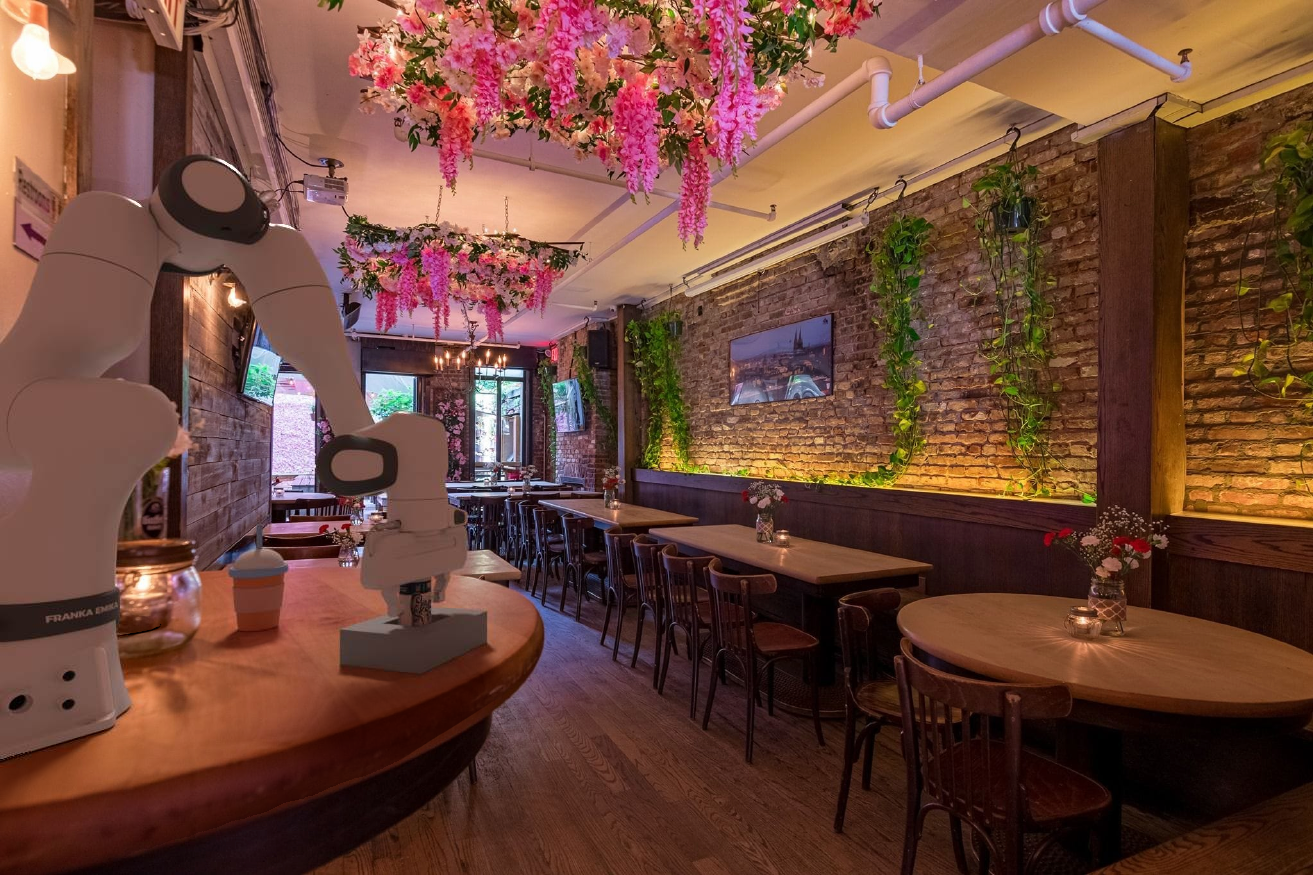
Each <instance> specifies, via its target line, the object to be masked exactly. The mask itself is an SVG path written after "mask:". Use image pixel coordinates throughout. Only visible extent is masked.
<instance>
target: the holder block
mask: <svg viewBox="0 0 1313 875" xmlns="http://www.w3.org/2000/svg"><path fill="white" fill-rule="evenodd" d="M486 642H487V643H488V610H479V609H469V608H467V609H466V608H456V607H455V608H454V607H444V606H432V605H431V624H428V625H426V626H423V627H414V626H403V625H398V617H389V616H388V613H387V614H384V615H381V616H376V617H374V618H371V619H367V620H364V621H361V622H358V623H355V624H352V625H349V626H346V627H343V628H340V629H339V665H341V666H342V665H344V666H351V667H358V668H367V669H375V670H382V671H390V672H399V673H407V674H413V675H414V674H415V675H421V674H424V673H426V672H428V671H430V670H433V669H435V668H437V667H439V666H441V665H443V664H446V663H448V662H449V661H451V660H453V658H454V659H455V658H457V657H460V656H462V655H464V654H466V653H468V652H470V651H472V650H475V649H476V648H475V647H477V648H479V647H481V646H482V644H483V645H485V644H487V643H486ZM484 643H485V644H484ZM480 645H481V646H480ZM478 646H479V647H478ZM474 648H475V649H474ZM471 649H472V650H471Z"/></svg>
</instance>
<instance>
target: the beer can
mask: <svg viewBox="0 0 1313 875" xmlns="http://www.w3.org/2000/svg"><path fill="white" fill-rule="evenodd" d="M431 591H432V577H429V578H425V579H422V580H418V581H414V582H411V583H407V584H403V585H400V592H399V593H398V598H399V601H400V603H404V614H403V615H401V616H398V625H403V626H414V627H423V626H426V625H428V624H431V606H432V602H431Z"/></svg>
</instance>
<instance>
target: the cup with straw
mask: <svg viewBox="0 0 1313 875" xmlns="http://www.w3.org/2000/svg"><path fill="white" fill-rule="evenodd" d="M255 546H256V548H254V549H250V550H247V551H245V552H243V553H242V554H241V555H239V556H238V557H237V558H236V560H235V562H234V563H233V565H232V567H230V568H229V569H228V573H227V574H228V576H229V577H230V578H232V581H233V586H231V587H232V596H233V607H234V612H235V614H236V624H237V630H238V631H240V632H258V631H259V632H260V631H266V630H270V629H273V628H276V627H278V626H279V624H280V615H281V610H282V609H281V608H282V607H283V602H284V600H283V598H284V591H285V584H286V583H285V580H284V579H285V574H286V573H287V572H289V564H288V563H287V562H285V560H284V558H283V557H282V555H281V554H279V552H277V551H275V550H273V549H271V548H263V524H261V523H258V524H256V545H255Z"/></svg>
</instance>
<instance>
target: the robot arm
mask: <svg viewBox="0 0 1313 875" xmlns="http://www.w3.org/2000/svg"><path fill="white" fill-rule="evenodd" d="M157 183H158V184H157V185H156V187H155V188H154V191H153V192H152V194H151V196H150V197H149V198H145V199H131V198H128V197H126V196H124V195H121V194H117V193H114V192H111V191H105V190H103V191H101V190H90V191H86V192H82V193H79V194H76V196H74V197H72V199H70V201H69V202H68V203H67V204H66V206H65V207H64V208H63V210H62V211H61V213H60V214H59V217H58V218H57V220H56V222H55V223H54V225H53V227H52V229H51V230H50V233H49V235H48V237H47V239H46V241H45V244H44V246H43V249H42V252H41V254H40V258H39V260H38V263H37V267H36V270H35V273H34V276H33V278H32V282H31V285H30V288H29V290H28V293H27V295H26V298H25V300H24V304H23V306H22V309H21V310H20V314H19V316H18V317H17V319H16V321H15V322H14V324H13V326H12V327H11V329H10V330H9V331H8V333H7V334H6V335H5V337H4V338H3V339H2V340H1V342H0V474H31V477H30V478H31V479H30V480H29V481H30V482H29V485H28V488H27V490H26V493H25V494H24V496H23V498H22V500H20V503H19V504H18V505H17V507H15V509H14V510H13V511H11V512H10V513H8V514H7V515H4V516H3V517H1V518H0V759H3V760H5V759H4V758H7V757H9V756H13V757H15V756H14V755H15V754H20V753H23V754H26V753H25V752H27V753H30V752H33V751H36V750H40V749H43V748H47V747H50V746H52V745H56V744H60V743H64V742H68V741H69V740H70V741H71V740H73V739H76V738H80V737H84V736H88V735H91V734H93V733H97V732H100V731H103V730H107V729H110V728H111V727H113V726H114V725H115V724H116V721H117V717H119V716H120V715H121V714H122V713H123V712H126V711H127V709H129V707H130V706H131V704H132V700H131V697H130V694H129V692H128V689H127V686H126V683H125V679H124V675H123V670H122V666H121V661H120V654H119V647H118V646H119V644H118V636H117V633H116V631H117V630H118V626H119V621H120V598H121V593H120V592H121V589H120V588H119V587H117V585H116V579H117V578H116V572H117V553H118V540H119V539H118V538H119V530H120V529H119V528H120V524H121V520H122V517H123V513H124V510H125V508H126V506H127V503H128V500H129V498H130V497H131V495H132V492H133V491H134V489H135V487H136V486H137V485H138V483H139V482H140V480H141V479H142V478H143V477H144V476H145V474H146V473H147V472H149V471H150V469H152V468H153V467H155V466H156V465H157V464H159V463H160V462H161V461H163V460H165V458H166V457H167V456H168V455H169V454H170V452H171V451H172V449H173V447H174V446H175V443H176V441H177V438H178V434H179V419H178V414H177V411H176V409H175V407H174V405H173V403H172V402H171V400H170V399H169V397H168V396H167V395H166V394H165V393H164V392H163V391H162V390H160V389H158V388H156V387H155V386H151V385H149V384H143V383H138V382H134V381H129V380H123V379H118V378H117V379H116V378H113V377H101V376H102V375H104V373H105V372H106V371H107V370H109V369H110V368H111V367H112V366H114V365H116V364H117V363H119V362H121V361H123V360H125V359H127V357H129V356H130V355H132V354H133V353H134V352H135V351H136V350H137V349H138V348H139V346H140V344H141V342H142V339H143V335H144V332H145V328H146V323H147V319H148V317H149V316H148V315H149V313H150V308H151V304H152V301H153V297H154V293H155V288H156V283H157V280H158V276H159V273H165V274H166V273H168V274H173V275H177V276H181V277H187V278H200V277H206V276H210V275H213V274H215V273H217V272H218V271H220V270H222V268H223V267H225V266H226V268H228V269H229V270H231V271H232V273H233V274H234V275H236V277H237V278H238V281H240V283H241V284H242V286H243V287H244V289H245V293H246V296H247V298H248V301H249V304H250V307H251V310H252V312H253V315H254V318H255V319H256V322H257V324H258V327H259V328H260V331H261V332H262V334H263V336H264V337H265V339H266V340H267V342H268V343H269V345H270V346H271V348H272V349H273V351H274V352H275V353H276V355H278V356H279V357H281V359H283V361H286V362H287V363H288V364H289V365H290V366H291V367H293V368H294V369H295V370H296V371H297V372H298V373H299V374H301V376H302V377H304V379H305V380H306V381H307V382H308V383H309V384H310V386H311V387H312V389H313V390H314V392H315V393H316V395H317V397H318V399H319V402H320V404H321V406H322V408H323V411H324V414H325V416H326V419H327V420H328V423H329V425H330V427H331V431H332V433H333V435H334V437H333V438H331V439H329V440H328V441H327V442H325V443H324V444H323V445H322V447H321V449H319V451H318V453H317V456H316V461H315V472H316V475H317V478H318V480H319V482H320V484H321V485H322V486H323V487H324V488H325V489H326V490H328V491H329V492H331V493H332V494H334V495H338V496H341V497H345V498H363V497H367V498H368V497H369V498H370V497H377V496H380V495H383V494H385V495H386V521H385V522H377V523H375V524H373V525H372V527H371V528H369V530H368V532H367V533H366V535H365V542H364V545H363V548H362V549H363V550H362V553H361V554H362V555H361V563H360V574H359V577H360V578H359V579H360V580H359V581H360V584H361V586H362V587H363V589H365V590H369V591H380V594H381V597H382V598H383V600H384V602H385V603H386V605H387V614H388V616H389V617H398V616H401V615H403V614H404V603H400V601H399V595H398V594H399V592H400V585H403V584H407V583H411V582H414V581H418V580H422V579H425V578H429V577H431V578H432V577H433V579H434V580H435V582H434V587H433V589H432V590H431V604H440V603H442V602H445V600H446V590H447V587H448V585H449V582H450V580H451V572H455V571H457V570H461V569H463V568H465V565H466V563H467V560H468V531H467V529H466V527H465V525H467V524H468V520H469V519H468V518H469V513H468V512H467V511H466V510H464V509H461V508H458V507H456V506H454V505H452V504H449V493H448V490H447V486H446V484H447V483H446V479H447V475H448V472H449V451H448V450H449V449H448V437H447V432H446V428H445V425H444V423H442V421H441V420H439V418H437V417H435V416H433V415H431V414H426V413H423V412H422V413H421V412H416V411H411V410H410V411H409V410H397V411H393V412H392V413H391V414H389V415H388V416H387V417H386V418H384V419H381V420H379V421H378V422H375V420H374V419H373V416H372V413H371V411H370V409H369V406H368V404H367V403H368V402H367V401H366V399H365V396H364V394H363V390H362V389H361V386H360V384H359V382H358V379H357V376H356V374H355V370H354V369H353V368H354V367H353V364H352V359H351V356H350V351H349V346H348V342H347V339H346V334H345V329H344V325H343V320H342V317H341V316H342V315H341V313H340V310H339V307H338V302H337V300H336V297H335V294H334V292H333V289H332V286H331V283H330V281H329V279H328V277H327V275H326V272H325V269H324V268H323V265H322V264H321V262H320V260H319V259H318V257H317V255H316V254H315V252H314V249H313V247H312V246H311V244H310V243H309V241H308V239H307V238H306V237H305V236H304V235H303V234H302V233H301V232H300V231H299V230H297V229H296V228H294V227H292V226H290V225H285V224H280V223H271V212H270V209H269V207H268V205H267V204H266V203H265V202H264V201H263V200H262V199H261V198H260V197H259V196H258V195H257V192H256V191H255V189H254V187H253V186H252V184H251V183H250V182H249V181H248V180H247V178H246V177H245V176H244V174H242V173H241V172H240V171H239V170H237V169H236V168H235V167H234V166H233V165H232V164H229V163H228V162H226V161H225V160H223V159H221V158H218V157H215V156H212V155H208V154H201V153H197V154H196V153H195V154H190V155H189V154H188V155H185V156H182V157H180V158H178V159H176V160H174V161H173V162H172V163H170V164H169V165H168V166H167V167H166V168H165V169H164V170H163V171H162V173H161V175H160V176H159V179H158V182H157ZM264 211H266V217H265V212H264ZM29 751H30V752H29ZM20 755H21V754H20ZM7 759H8V758H7Z"/></svg>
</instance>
